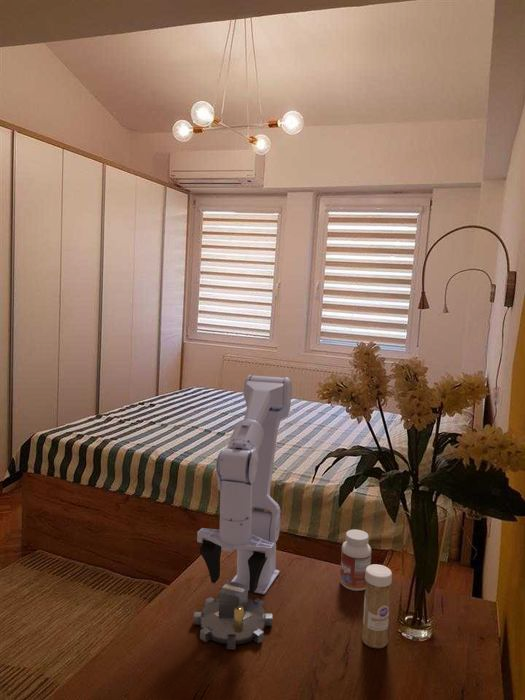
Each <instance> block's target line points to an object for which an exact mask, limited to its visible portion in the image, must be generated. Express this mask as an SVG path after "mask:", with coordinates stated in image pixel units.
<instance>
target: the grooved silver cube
mask: <svg viewBox="0 0 525 700" xmlns="http://www.w3.org/2000/svg"><path fill="white" fill-rule="evenodd" d="M231 581H232V580H228V581H226V583H225V584H224V585H223V586H222V588H221V589H220V590H219V592H218V599H219V618H221V619H225V620H228V621H232V622H234V608H235V607H236V606H242V607H243V608H244V610H243V616H244V615H245V613H246V612H247V602H248V599H249V597H248V595H249V593H248V592H249V591H248V585H243V584H239V583H235V582H231Z"/></svg>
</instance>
